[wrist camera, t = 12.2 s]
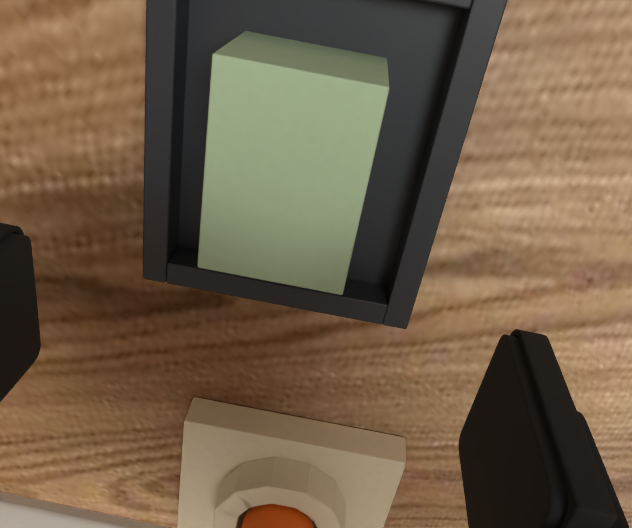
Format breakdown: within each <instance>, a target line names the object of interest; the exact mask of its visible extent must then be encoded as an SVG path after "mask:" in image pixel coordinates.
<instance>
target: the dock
mask: <svg viewBox="0 0 632 528" xmlns="http://www.w3.org/2000/svg"><path fill="white" fill-rule="evenodd" d="M506 3H507V0H147V1H146V75H145V148H144V222H143V278H144V279H149V280H154V281H159V282H166V281H167V283H169V284H174V285H179V286H184V287H190V288H195V289H200V290H205V291H211V292H216V293H221V294H226V295H231V296H237V297H242V298H247V299H252V300H257V301H263V302H268V303H273V304H278V305H284V306H289V307H294V308H299V309H304V310H310V311H315V312H320V313H325V314H330V315H336V316H341V317H346V318H351V319H357V320H362V321H367V322H372V323H377V324H382V323H383V325H387V326H392V327H397V328H403V329H406V328H407V326H408V323H409V319H410V316H411V313H412V310H413V306H414V303H415V300H416V297H417V293H418V290H419V287H420V284H421V280H422V277H423V274H424V270H425V267H426V264H427V261H428V257H429V254H430V251H431V248H432V244H433V241H434V238H435V235H436V231H437V228H438V225H439V222H440V218H441V215H442V212H443V208H444V205H445V202H446V199H447V195H448V192H449V189H450V186H451V182H452V179H453V176H454V173H455V169H456V166H457V163H458V160H459V156H460V153H461V150H462V146H463V143H464V140H465V137H466V133H467V130H468V127H469V124H470V120H471V117H472V114H473V111H474V107H475V104H476V101H477V98H478V94H479V91H480V88H481V84H482V81H483V78H484V75H485V71H486V68H487V65H488V62H489V58H490V55H491V52H492V49H493V45H494V42H495V39H496V36H497V32H498V29H499V26H500V23H501V19H502V16H503V13H504V9H505V6H506ZM244 31H249V32H254V33H260V34H265V35H270V36H275V37H280V38H286V39H291V40H296V41H301V42H306V43H312V44H317V45H322V46H327V47H332V48H338V49H343V50H348V51H353V52H358V53H364V54H369V55H374V56H379V57H384V58H387V64H388V78H389V93H388V97H387V102H386V106H385V111H384V115H383V120H382V124H381V128H380V133H379V137H378V142H377V146H376V150H375V155H374V159H373V164H372V168H371V172H370V177H369V181H368V186H367V190H366V194H365V199H364V203H363V208H362V212H361V216H360V221H359V225H358V230H357V234H356V238H355V243H354V247H353V252H352V256H351V260H350V265H349V269H348V274H347V278H346V282H345V287H344V291H343V294H342V295H339V294H334V293H328V292H323V291H318V290H313V289H308V288H302V287H297V286H292V285H287V284H282V283H276V282H271V281H266V280H261V279H255V278H250V277H245V276H240V275H235V274H229V273H224V272H219V271H214V270H209V269H203V268H199V267H198V266H197V265H198V250H199V236H200V222H201V208H202V193H203V179H204V165H205V150H206V136H207V122H208V108H209V93H210V79H211V65H212V55H213V53H215V52H216V51H217V50H219V49H220V48H222V47H223V46H225V45H226V44H227V43H229V42H230V41H232V40H233V39H235V38H236V37H237V36H239V35H240V34H242V33H243V32H244Z"/></svg>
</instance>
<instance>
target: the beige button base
mask: <svg viewBox="0 0 632 528" xmlns="http://www.w3.org/2000/svg"><path fill="white" fill-rule="evenodd" d="M405 465H406V448H405V438H404V437H400V436H395V435H390V434H384V433H379V432H374V431H369V430H363V429H358V428H353V427H348V426H343V425H337V424H332V423H327V422H322V421H317V420H311V419H306V418H301V417H296V416H290V415H285V414H280V413H275V412H270V411H264V410H259V409H254V408H249V407H243V406H238V405H233V404H228V403H223V402H217V401H212V400H207V399H202V398H196V397H194V398H193V400H192V402H191V405H190V407H189V410H188V412H187V415H186V417H185V419H184V429H183V444H182V459H181V473H180V488H179V503H178V518H177V528H242V523H243V519H244V516H245V514H246V513H247V512H248V511H249V510H250V509H251V508H253V507H254V506H260V505H266V504H277V505H282V506H287V507H293V508H296V509H298V510H299V511H301V512H303V513H304V514H306V515H308V517H309V518H310V519H311V521H312V523H313V526H314V528H383V527H384V524H385V521H386V518H387V516H388V513H389V510H390V507H391V504H392V502H393V499H394V496H395V493H396V490H397V488H398V485H399V482H400V479H401V477H402V474H403V471H404V468H405Z"/></svg>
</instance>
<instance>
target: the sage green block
mask: <svg viewBox="0 0 632 528" xmlns="http://www.w3.org/2000/svg"><path fill="white" fill-rule="evenodd" d="M388 93H389V78H388V64H387V58H384V57H379V56H374V55H369V54H364V53H358V52H353V51H348V50H343V49H338V48H332V47H327V46H322V45H317V44H312V43H306V42H301V41H296V40H291V39H286V38H280V37H275V36H270V35H265V34H260V33H254V32H249V31H244V32H243V33H242V34H240V35H239V36H237V37H236V38H235V39H233V40H232V41H230V42H229V43H227V44H226V45H225V46H223V47H222V48H220V49H219V50H217V51H216V52H215V53H213V55H212V65H211V79H210V93H209V108H208V122H207V136H206V150H205V165H204V179H203V193H202V208H201V222H200V236H199V250H198V265H197V266H198V267H199V268H203V269H209V270H214V271H219V272H224V273H229V274H235V275H240V276H245V277H250V278H255V279H261V280H266V281H271V282H276V283H282V284H287V285H292V286H297V287H302V288H308V289H313V290H318V291H323V292H328V293H334V294H339V295H342V294H343V291H344V287H345V282H346V278H347V274H348V269H349V265H350V260H351V256H352V252H353V247H354V243H355V238H356V234H357V230H358V225H359V221H360V216H361V212H362V208H363V203H364V199H365V194H366V190H367V186H368V181H369V177H370V172H371V168H372V164H373V159H374V155H375V150H376V146H377V142H378V137H379V133H380V128H381V124H382V120H383V115H384V111H385V106H386V102H387V97H388Z"/></svg>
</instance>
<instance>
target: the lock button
mask: <svg viewBox="0 0 632 528" xmlns="http://www.w3.org/2000/svg"><path fill="white" fill-rule="evenodd" d="M242 528H314V526H313V523H312V521H311V519H310V518H309V517H308V515H306V514H304V513H303V512H301V511H299V510H298V509H296V508H293V507H287V506H282V505H277V504H266V505H260V506H254V507H253V508H251V509H250V510H249V511H248V512H247V513H246V514H245V516H244V519H243V523H242Z"/></svg>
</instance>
